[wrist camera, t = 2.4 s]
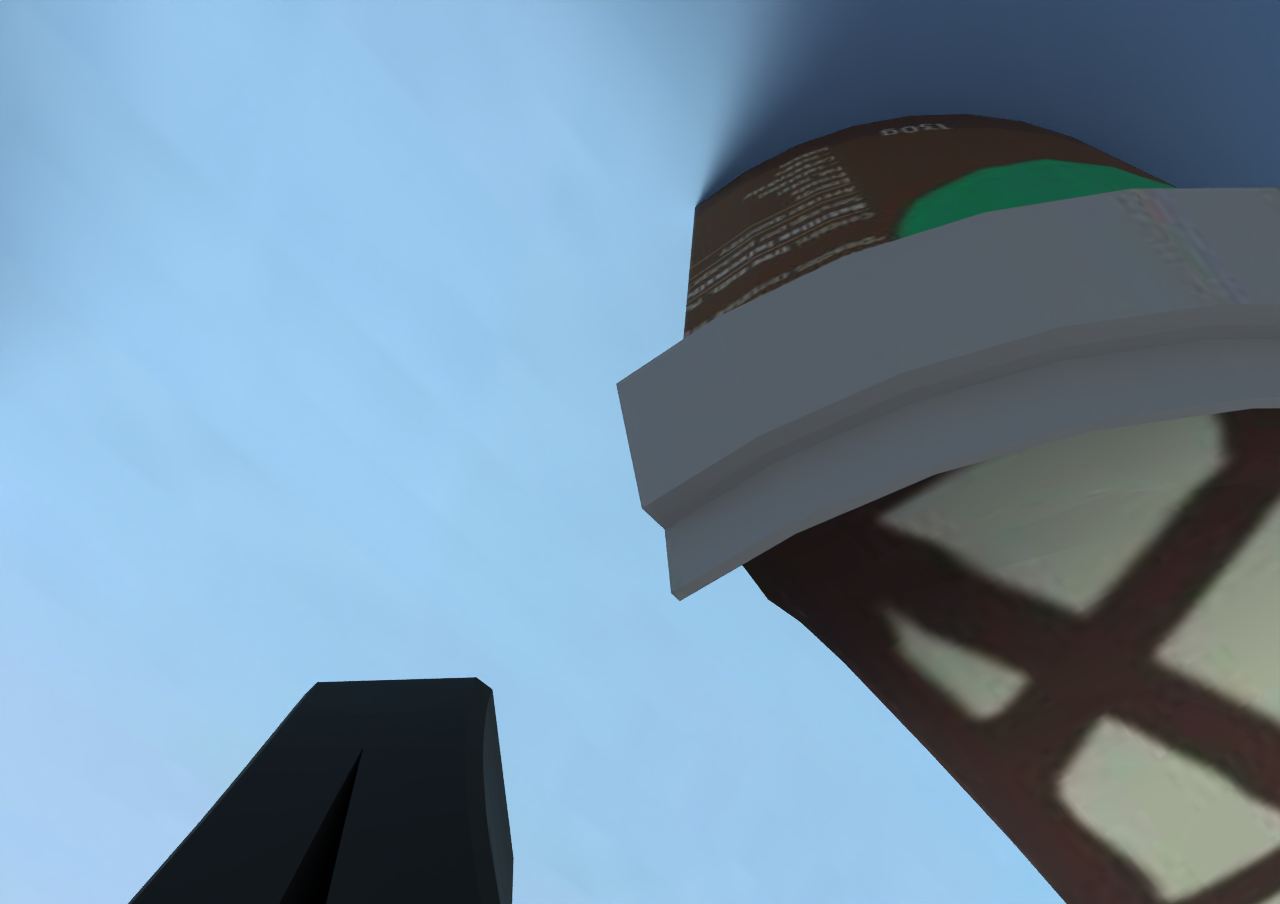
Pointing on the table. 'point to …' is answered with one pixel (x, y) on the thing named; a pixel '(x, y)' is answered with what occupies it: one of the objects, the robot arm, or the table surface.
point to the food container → (1004, 476)
